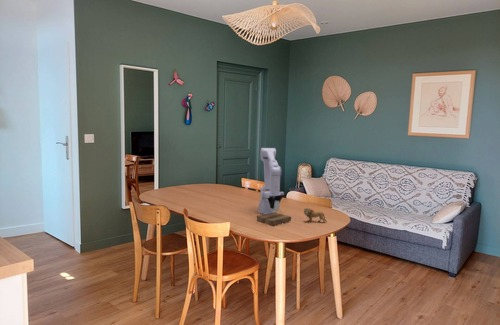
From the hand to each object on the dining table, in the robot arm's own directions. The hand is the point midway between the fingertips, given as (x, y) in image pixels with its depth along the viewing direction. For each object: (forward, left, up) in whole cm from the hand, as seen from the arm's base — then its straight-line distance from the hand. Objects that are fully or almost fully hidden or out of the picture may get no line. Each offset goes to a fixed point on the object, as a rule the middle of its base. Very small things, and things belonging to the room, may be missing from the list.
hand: (274, 207), depth 228 cm
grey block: (0, 0, -2) cm, 2 cm away
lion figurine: (+17, +19, -9) cm, 27 cm away
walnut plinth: (0, 0, -9) cm, 9 cm away
